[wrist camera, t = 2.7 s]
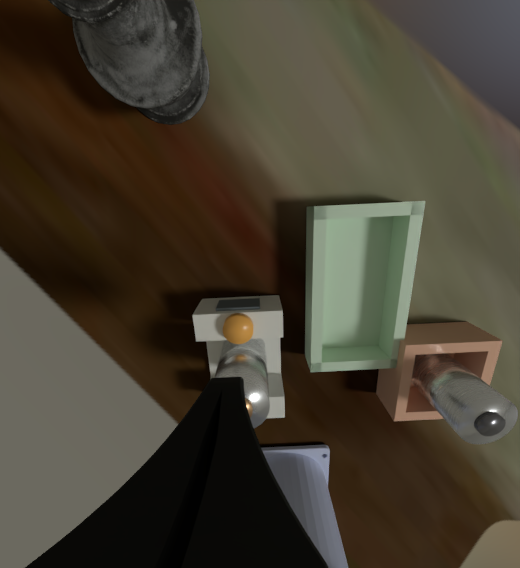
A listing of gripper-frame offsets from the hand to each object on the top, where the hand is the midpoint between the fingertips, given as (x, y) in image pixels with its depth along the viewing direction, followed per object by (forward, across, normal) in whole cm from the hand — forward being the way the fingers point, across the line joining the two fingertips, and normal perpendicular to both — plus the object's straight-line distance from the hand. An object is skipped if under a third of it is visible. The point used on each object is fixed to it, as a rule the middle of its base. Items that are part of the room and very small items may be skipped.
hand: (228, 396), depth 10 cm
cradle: (+9, 0, +4) cm, 10 cm away
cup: (+9, -15, +6) cm, 19 cm away
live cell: (+9, 0, +4) cm, 10 cm away
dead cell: (+9, -15, +6) cm, 18 cm away
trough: (+9, -8, -2) cm, 13 cm away
